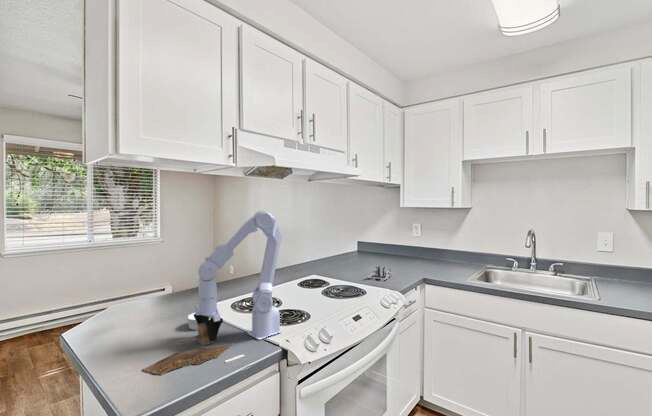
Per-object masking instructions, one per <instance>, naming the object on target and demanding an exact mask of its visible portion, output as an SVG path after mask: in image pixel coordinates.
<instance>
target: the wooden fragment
mask: <svg viewBox="0 0 652 416" xmlns="http://www.w3.org/2000/svg"><path fill="white" fill-rule="evenodd" d="M231 347H232V344H225V345H218V346H212V347H211V346H210V347H200V348H193V349H189V350H183V351H179V352H175V353H173V354H171V355H169V356H167V357H165V358H163V359H160V360H159V361H156V362H155V363H154V362H153V364H150V365H148V366H146V367H143V368H142V369H141V372H143V371H145V372H144V373H145V374H147V373H149V374H148V375H153V376H156V375H157V376H163V375H165V374H167V373H170V372H172V371H174V370H178V369H182V368H183V367H186V366H188V367H189V366H191V365H192V366H194V365H199V364H202V363H205V362H207V361H208V360H212V359H217V358H218V357H219V356H221V355H222V354H223V353H224V352H225V351H226V350H228V349H230V348H231ZM150 373H151V374H150Z"/></svg>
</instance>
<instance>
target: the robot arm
mask: <svg viewBox="0 0 652 416" xmlns="http://www.w3.org/2000/svg"><path fill="white" fill-rule="evenodd" d="M258 229H260V230H261V231H262V232H263V234H264V235H265V237H266V238H267V239H266V245H265V249H264V255H263V260H262V264H261V270H260V275H259V279H258V282H257V285H256V288H255V289H254V292H253V293H252V295H251V296H252V301H253V304H254V305H253V307H252V309H251V313H252V314H251V322H252V323H251V325H252V326H251V330H250V331H247V333H246V334H247V335H249V336H251V337H253V338H254V339H255V340H257V341H261V340H264V339H266V337H267V338H269V337H268V336H270V337H272V336H271V335H273V336H275V335H274V334H276V335H278V334H277V333H279V334H281V333H282V331H281V322H280V321H281V320H280V319H281V315H280V311H279V309H278V307H276V306H274V305H273V304H274V300H273V282H274V278H275V274H276V273H275V272H276V266H277V262H278V257H279V252H280V247H281V242H282V237H283V236H282V233H281V230H280V227H279V225H278V221H277V219H276V218H275V217H274V215H273V214H272V213H271V212H269V211H265V210H260V211H257V212H255V214H253V216H251V217H250V218H249V219H248V220H247V221H245V222H244V223H243V225H242V226H241V227H240V228H239V229H238V230H237V231H236V233H235V234H233V236H232V237H231V238H229V241H227V243H221V244H219V246H218V245H216V246H215V247H214V251H213V252H212V253H211V254H210V255H209V256H208V257H207V256H206V257H205V258H204V261H203V262H202V263H201V264H200V265H199V267H198V270H197V274H198V276H199V279H198V304H197V305H196V311H195V312H194V313H195V314H194V315H193V316H194V318H195V319H196V321H197V324H200V323H205V324H206V327H207V330H208V337H209V341H210V342H211V341H214V340H216V338H217V334H219V330H220V327H221V325H222V324H223V322H224V319H223V318H222V317H221V313H219V310H218V307H217V306H218V305H217V304H218V303H217V302H218V300H217V299H218V298H217V297H218V295H217V294H218V293H217V292H218V290H217V288H218V287H217V278H216V277H217V275H218V270H221V269H222V268H223V267H224V266H225V265H226V264H227V262H228V261H230V260H231V258H233V256H234V249H235V248H237V247H238V246H239V244H241V242H242V241H244V239H245V238H247V237H248V236H249V235H250V234H251V233H254V232H255V233H256V232H257V231H259V230H258ZM209 317H210V320H209ZM280 332H281V333H280Z"/></svg>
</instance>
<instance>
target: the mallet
mask: <svg viewBox="0 0 652 416" xmlns="http://www.w3.org/2000/svg"><path fill="white" fill-rule="evenodd" d="M218 334H219V333H218ZM218 334H217V338H216V340H214V341H211V342H210V341H209V337H208V330H207V327H206V324H205V323H200V324H198V330H197V335H194V336H189V337H187V338H184V339H183V338H182V339H180V340H177V343H178V345H183V344H186V343H189V342H194V341H196V340H197V342H198V343H199V344H201V345H202V346H205V345H208V344H212V343H216V342H218V341H219V339H218V338H219V337H218Z"/></svg>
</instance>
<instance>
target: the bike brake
mask: <svg viewBox="0 0 652 416" xmlns="http://www.w3.org/2000/svg"><path fill="white" fill-rule="evenodd" d="M392 275H393V271H392V266H389V270H386V267H385V266H384V267H383V268H382V277H383V276H385V277H384V278H382V279H381V278H379V277H378V276H381V266H378V265H377V264H376V265H375V269H372V273H371V274H369V275H368V276H367V277H366V278H364V279H362V282H363V281H366V280H370V279H375V280H374V281H382V280H386V279H387V280H388V278H389V277H390V276H392ZM373 276H377V277H376V278H375V277H373Z"/></svg>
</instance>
